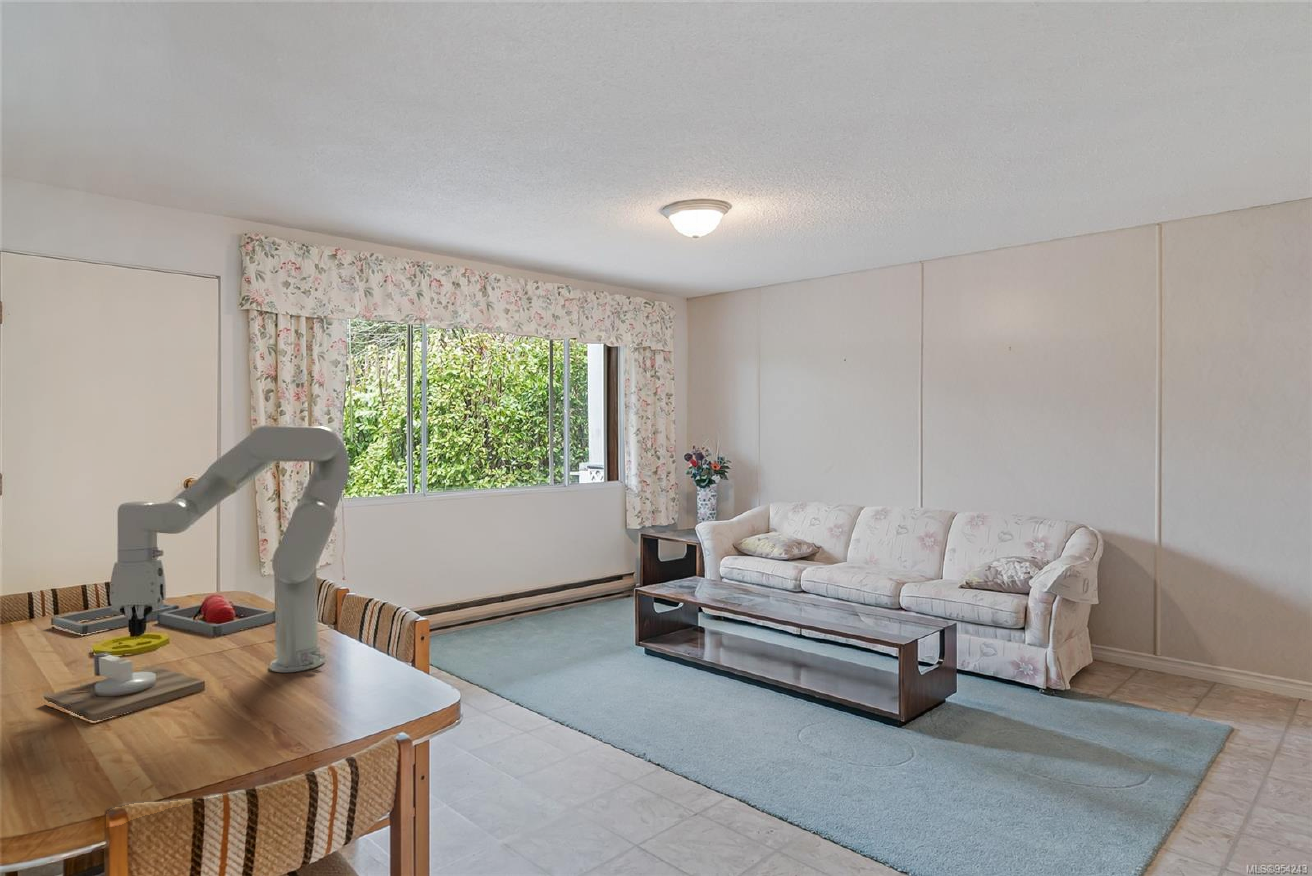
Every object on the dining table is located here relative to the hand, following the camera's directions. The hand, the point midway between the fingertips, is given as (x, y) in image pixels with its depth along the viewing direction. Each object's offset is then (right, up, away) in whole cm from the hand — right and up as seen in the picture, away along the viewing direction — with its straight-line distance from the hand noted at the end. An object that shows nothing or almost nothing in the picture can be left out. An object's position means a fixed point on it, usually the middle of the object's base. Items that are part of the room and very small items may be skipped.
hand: (137, 635), depth 173 cm
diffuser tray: (-48, -11, +60) cm, 77 cm away
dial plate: (+2, -12, -6) cm, 14 cm away
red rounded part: (-16, -11, +56) cm, 59 cm away
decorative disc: (-23, -12, +32) cm, 41 cm away
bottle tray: (-15, -11, +57) cm, 59 cm away
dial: (-1, -10, -5) cm, 11 cm away
